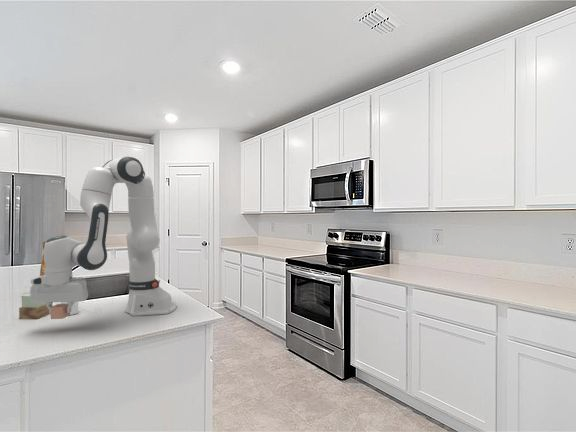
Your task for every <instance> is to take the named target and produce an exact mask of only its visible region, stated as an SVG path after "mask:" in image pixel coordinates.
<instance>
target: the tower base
mask: <svg viewBox="0 0 576 432" xmlns="http://www.w3.org/2000/svg"><path fill="white" fill-rule="evenodd" d="M18 309H19V310H18V320H39V319H42V318H44V317H47V316H48V315H51V313H49V309H48V307H47V306H46V305H43V306H41V307H38V308H29V307H22V306H20V307H18Z"/></svg>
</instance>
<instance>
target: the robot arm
mask: <svg viewBox="0 0 576 432" xmlns="http://www.w3.org/2000/svg"><path fill="white" fill-rule="evenodd" d="M116 184H125V186H126V188H127V191H128V192H127V204H128V205H127V206H128V207H127V210H128V218H129V221H130V227H131V229H130V230H128V232H127V234H126V237H125V239H126V245H127V246H126V248H127V255H128V262H129V265H128V266H129V272H128V273H129V279H128V284H127V285H128V286H127V289H128V290H127V291H128V298H127V299H128V300H127V305H126V308H125V312H126V313H127V314H130V315H131V316H132V317H134V316H135V317H137V316H139V317H140V316H154V315H167V314H170V313H172V312H174V311H175V310H176V309H177V308H178V305H177V303H175V302H173V300H172V296H171V294H170V293H169V292H168V291H167V290H165V289H163V288H162V287H160V283H161V282H160V281H161V280H160V279H159V280H157V279H156V261H155V258H154V254H153V251H154V250H156V249H157V248H158V246H159V244H160V237H159V233H158V227H157V222H156V216H155V198H154V197H155V193H154V186H153V181H152V179H151V177H150V176H149V175H147V174H146V173H145V169H144V168H143V164H142V163H141V161H140V160H139V159H138V158H135V157H134V156H133V157H132V156H122V157H120V156H119V157H117V158H115V159H110V160H108V161H106V162H105V163H104V164H103V165H102V166H95V167H91V168H90V169H89V170H88V172H87V174H86V176H85V179H84V181H83V185H82V187H81V190H80V191H81V192H80V195H79V196H80V198H79V202H80V203H79V205H80V207H81V209H82V210H83V211H84V212H85V213H86V215H87V216H88V220H89V221H88V222H89V225H88V231H87V237H86V242H84V241H80V240H77V239H74V238H71V237H69V235H59V236H58V235H57V236H53V237H50V238H48V239H47V240H46V241H45V242H46V243H45V247H44V262H45V265H46V268H45V275H41V276H40V275H39V276H37V277H34V278H32V279H31V280H30V284H31V286H30V288H29V289H30V291H29V293H30V300H31V301H32V302H33V303H38V302H46V306H47V307H48V309H49V313H50V314H51V312H50V307H52V306H54V305H53V304H54V303H61V302H67V304H69V305H68V307H67V308H65V313H70V312H71V307H72V306H73V304H74V302H78V303H79V302H84V301H86V300H87V299H88V297H89V291H88V287H87V285H88V284H87V283H88V282H87V280H86V279H85V278H83V277H73V267H74V266H78V267H81V268H83V269H85V270H88V271H95V270H98V269H100V268H102V266H104V265H105V263H106V262H107V259H108V252H107V247H106V242H107V241H106V239H107V231H108V224H109V210H110V206H111V205H110V204H111V200H112V194H113V189H114V187H115V186H116Z"/></svg>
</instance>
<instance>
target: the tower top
mask: <svg viewBox="0 0 576 432" xmlns="http://www.w3.org/2000/svg"><path fill="white" fill-rule="evenodd" d="M43 305H46V302H38V303H33V302H32V301H31V300H30V292H28V293H26V294H23V295H21V307H29V308H38V307H41V306H43Z"/></svg>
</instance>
